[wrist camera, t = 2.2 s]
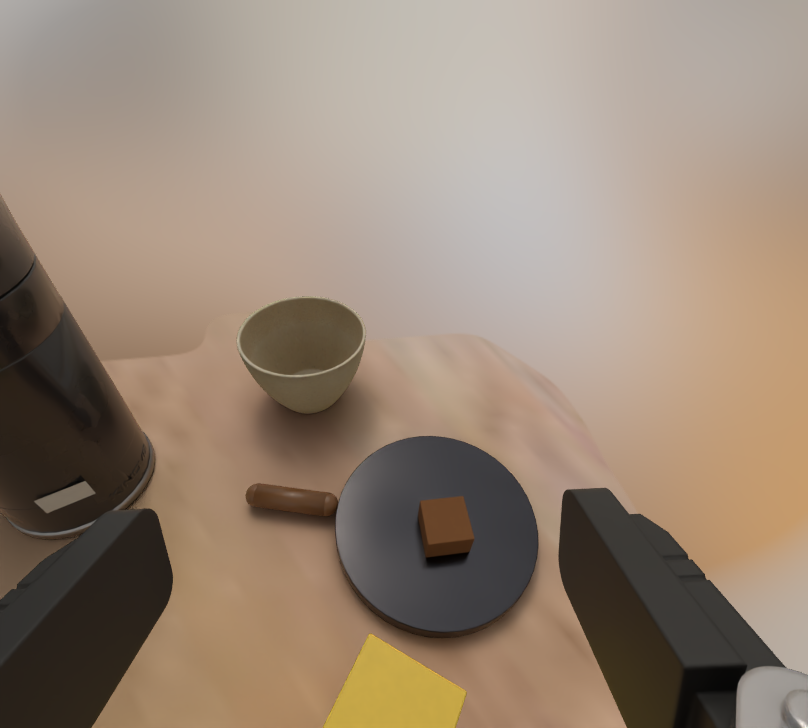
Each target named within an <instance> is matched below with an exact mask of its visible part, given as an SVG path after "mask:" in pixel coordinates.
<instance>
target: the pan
mask: <svg viewBox="0 0 808 728" xmlns="http://www.w3.org/2000/svg"><path fill="white" fill-rule="evenodd" d="M459 496H463V497H464V500H465V504H466V508H467V512H468V515H469V519H470V523H471V527H472V531H473V534H474V538H475V539H474V542H473V544H472V547H471V550H470V552H465V553H457V554H449V555H441V556H433V557H425V552H424V547H423V541H422V535H421V530H420V524H419V518H418V511H419V505H420V501H422V500H431V499H440V498H450V497H459ZM246 500H247V502H248V504H250V505H251V506H254V507H260V508H267V509H275V510H282V511H289V512H297V513H304V514H311V515H318V516H330V515H332V514H334V513H335V511H336V510H337V511H336V517H335V535H336V544H337V551H338V555H339V559H340V563H341V566H342V568H343V571H344V573H345V576H346V578H347V580H348V581H349V583H350V585H351V587H352V589H353V590H354V591H355V593H356V594H357V595H358V597H359V598H360V599H361V601H362V602H363V603H364V604H365V605H366V606H367V607H368V608H369V609H370V610H371V611H372V612H374V613H375V614H376V615H378V616H379V617H380V618H382V619H383V620H384V621H386V622H388V623H390V624H392V625H393V626H395V627H397V628H399V629H402V630H404V631H407V632H410V633H412V634H416V635H421V636H425V637H435V638H450V637H459V636H464V635H468V634H472V633H474V632H477V631H479V630H482V629H484V628H486V627H488V626H490V625H491V624H493V623H495V622H496V621H498V620H499V619H500V618H501V617H502V616H504V615H505V614H506V613H507V612H508V611H509V610H510V609H511V608H512V607H513V605H514V604H515V603H516V602H517V601H518V599H519V598H520V596H521V595H522V593H523V592H524V590H525V588H526V587H527V585H528V583H529V581H530V579H531V576H532V574H533V572H534V568H535V564H536V560H537V553H538V530H537V525H536V519H535V516H534V513H533V509H532V506H531V504H530V502H529V500H528V497H527V495H526V494H525V492H524V490H523V489H522V487H521V485H520V484H519V483H518V481H517V480H516V479H515V477H514V476H513V475H512V474H511V473H510V472H509V471H508V470H507V469H506V468H505V466H503V465H502V464H501V463H500V462H499V461H497V460H496V459H495V458H493V457H492V456H491V455H489V454H488V453H486V452H484V451H483V450H481V449H479V448H477V447H475V446H473V445H470V444H468V443H465V442H462V441H459V440H455V439H451V438H445V437H436V436H420V437H413V438H407V439H403V440H399V441H396V442H394V443H391V444H389V445H386V446H385V447H383V448H381V449H379V450H377V451H376V452H374V453H373V454H372V455H370V456H369V457H368V458H366V459H365V460H364V461H363V462H362V463H361V464H360V465H359V466H358V467H357V468H356V470H355V471H354V472H353V473H352V475H351V476H350V478H349V479H348V481H347V482H346V484H345V487H344V489H343V491H342V493H341V496H340V499H339V502H338V501H337V498H336V497H335V496H334V495H333V494H331V493H327V492H319V491H312V490H304V489H297V488H289V487H282V486H275V485H267V484H254V485H252V486H250V487H249V488H248V490H247V492H246Z"/></svg>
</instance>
